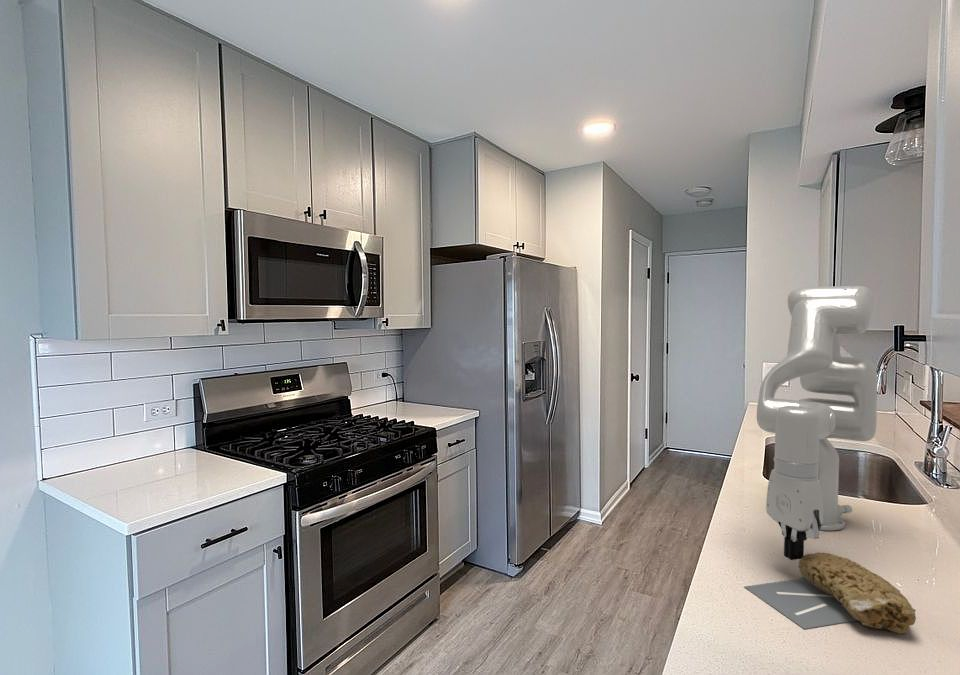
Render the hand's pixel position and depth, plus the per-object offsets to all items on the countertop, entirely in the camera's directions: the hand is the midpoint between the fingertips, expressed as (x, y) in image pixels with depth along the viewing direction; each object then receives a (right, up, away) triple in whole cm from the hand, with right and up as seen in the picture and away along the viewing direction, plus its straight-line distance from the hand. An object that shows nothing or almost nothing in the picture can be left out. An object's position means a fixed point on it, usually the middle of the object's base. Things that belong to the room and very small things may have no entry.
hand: (793, 557), depth 105 cm
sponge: (+4, -4, -10) cm, 12 cm away
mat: (+1, -4, -8) cm, 9 cm away
